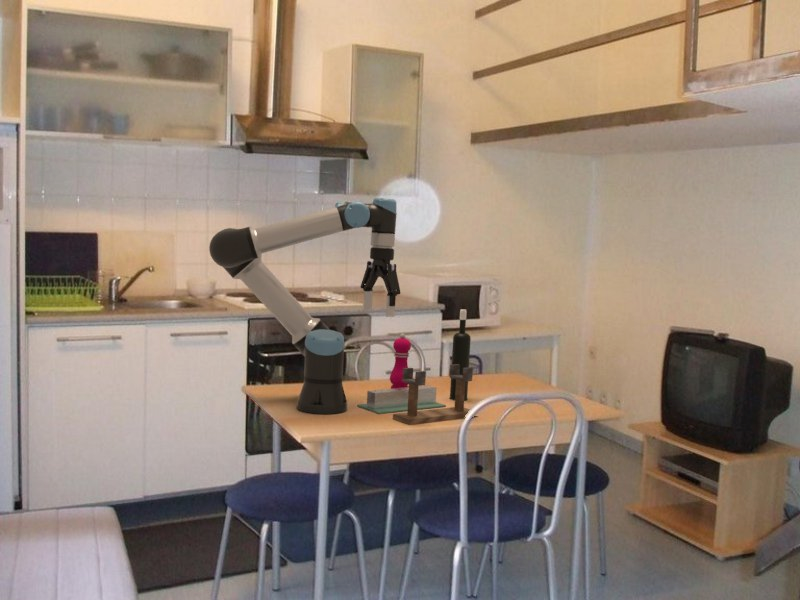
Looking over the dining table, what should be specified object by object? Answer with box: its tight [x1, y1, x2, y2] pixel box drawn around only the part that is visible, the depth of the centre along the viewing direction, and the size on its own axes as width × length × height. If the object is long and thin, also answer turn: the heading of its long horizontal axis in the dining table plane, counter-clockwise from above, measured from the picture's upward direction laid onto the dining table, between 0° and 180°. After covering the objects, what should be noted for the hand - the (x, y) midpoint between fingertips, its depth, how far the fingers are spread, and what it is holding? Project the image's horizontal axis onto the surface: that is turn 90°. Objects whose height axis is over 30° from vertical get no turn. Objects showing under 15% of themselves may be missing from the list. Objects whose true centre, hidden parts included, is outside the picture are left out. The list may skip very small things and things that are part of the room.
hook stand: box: [392, 364, 474, 426], centre depth 261 cm, size 26×8×15 cm, turn 127°
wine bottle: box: [449, 308, 472, 401], centre depth 291 cm, size 6×6×30 cm
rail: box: [366, 384, 437, 409], centre depth 275 cm, size 24×4×5 cm, turn 127°
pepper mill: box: [389, 333, 412, 389], centre depth 299 cm, size 7×7×20 cm
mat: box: [356, 401, 447, 415], centre depth 276 cm, size 26×12×1 cm, turn 127°
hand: (378, 314), depth 279 cm, fingers open, 13 cm apart
